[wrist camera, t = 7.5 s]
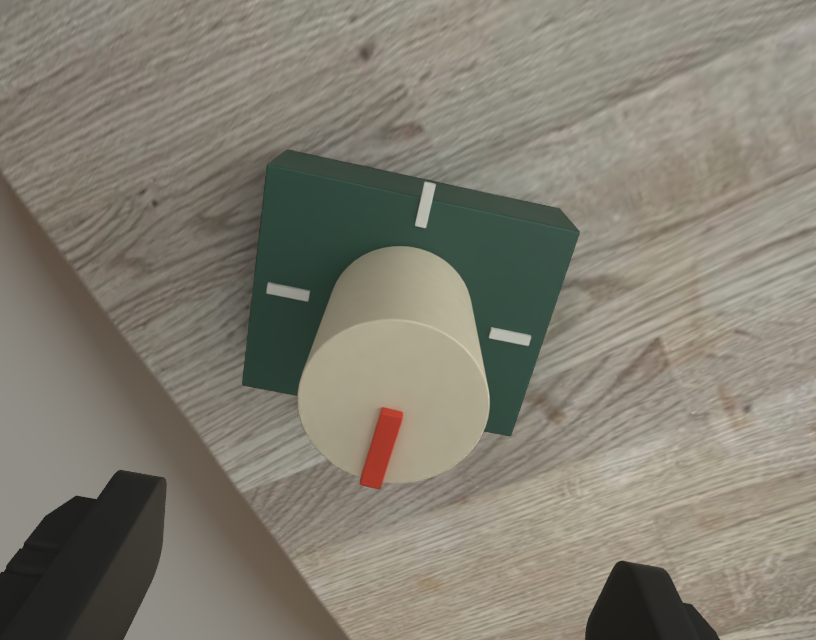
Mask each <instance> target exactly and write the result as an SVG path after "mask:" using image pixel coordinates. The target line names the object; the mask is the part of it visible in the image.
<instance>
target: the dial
mask: <svg viewBox="0 0 816 640" xmlns="http://www.w3.org/2000/svg"><path fill="white" fill-rule="evenodd" d="M489 408H490V397H489V390H488V384H487V379H486V374H485V369H484V364H483V359H482V354H481V349H480V344H479V339H478V334H477V329H476V324H475V319H474V314H473V309H472V303H471V298H470V295H469V292H468V289H467V287H466V285H465V283H464V281H463V280H462V278H461V277H460V275H459V274H458V273H457V272H456V270H455V269H454V268H453V267H452V266H451V265H449V264H448V263H447V262H446V261H445V260H443V259H441V258H440V257H438V256H437V255H435V254H433V253H430V252H428V251H425V250H422V249H419V248H414V247H407V246H392V247H385V248H380V249H377V250H374V251H371V252H369V253H367V254H365V255H363V256H361V257H360V258H358V259H357V260H355V261H354V262H353V263H352V264H350V265H349V266H348V267H347V268H346V269H345V270H344V272H343V273H342V274H341V276H340V277H339V279H338V280H337V282H336V284H335V286H334V288H333V291H332V293H331V296H330V299H329V302H328V304H327V307H326V310H325V313H324V315H323V318H322V321H321V323H320V326H319V329H318V332H317V334H316V337H315V340H314V343H313V345H312V348H311V351H310V354H309V356H308V359H307V362H306V364H305V367H304V370H303V373H302V376H301V379H300V382H299V388H298V410H299V416H300V419H301V422H302V425H303V428H304V430H305V432H306V434H307V436H308V438H309V439H310V441H311V442H312V444H313V445H314V446H315V447H316V449H317V450H318V451H319V452H320V453H321V454H322V455H323V456H324V457H325V458H326V459H327V460H328V461H330V462H331V463H333V464H334V465H335V466H337V467H338V468H340V469H342V470H344V471H345V472H347V473H349V474H352V475H354V476H357V477H359V478H360V485H363V486H367V487H371V488H376V489H380V488H381V485H382V483H391V484H398V483H411V482H417V481H421V480H425V479H429V478H432V477H434V476H437V475H439V474H441V473H443V472H445V471H447V470H449V469H451V468H452V467H454V466H455V465H456V464H458V463H459V462H460V461H461V460H463V459H464V458H465V457H466V456H467V455H468V454H469V453H470V452H471V450H472V449H473V448H474V447H475V445H476V444H477V442H478V441H479V439H480V438H481V436H482V433H483V431H484V429H485V426H486V423H487V420H488V415H489Z"/></svg>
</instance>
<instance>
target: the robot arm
mask: <svg viewBox="0 0 816 640" xmlns="http://www.w3.org/2000/svg"><path fill="white" fill-rule="evenodd" d="M165 501H166V479H165V478H163V477H158V476H152V475H146V474H141V473H135V472H130V471H123V470H119V471H117V472H116V473H115V474H114V475H113V477H112V478H111V479H110V481H109V482H108V484H107V485H106V487H105V488H104V490H103V491H102V493H101V494H100V495H99V497H98V498H97V499H92V498H86V497H81V496H75V497H73V498H72V499H71V500H69V501H67V502H66V503H64V504H63V505H62V506H60V507H58V508H57V509H55V510H54V511H52V512H51V513H49V514H48V515H46V516H45V517H44V518H43V520H42V521H41V522H40V524H39V525H38V526H37V527H36V529H35V530H34V531H33V533H32V534H31V535H30V536H29V538H28V539H27V540H26V541H25V543H24V546H23V548H22V549H19V551H18V552H17V553H16V554H15V555H14V557H13V558H12V559H11V561H10V562H9V563H8V564H7V566H6V569H5V571H4V572H1V573H0V640H123V639H124V637H125V635H126V633H127V631H128V629H129V627H130V625H131V623H132V621H133V619H134V617H135V615H136V613H137V611H138V608H139V607H140V605H141V603H142V601H143V599H144V597H145V594H146V592H147V590H148V588H149V586H150V584H151V582H152V580H153V577H154V575H155V572H156V569H157V566H158V563H159V559H160V555H161V550H162V543H163V530H164V515H165ZM585 640H720V639H719V637H718V635H717V633H716V632H715V631H714V630H713V628H712V627H711V626H710V625H709V624H708V623H707V621H706V620H705V619H704V618H703V617H702V616H701V615H700V613H699V612H698V611H697V610H696V609H695V608H694V607H693V605H692V604H687V603H683V602H682V600H681V598H680V596H679V594H678V592H677V590H676V588H675V586H674V584H673V582H672V579H671V577H670V576H669V574H668V573H667V571H666V570H664V569H663V568H660V567H654V566H649V565H643V564H637V563H632V562H626V561H619V562H618V563H616V564H615V566H614V567H613V569H612V571H611V573H610V575H609V577H608V579H607V581H606V583H605V585H604V587H603V590H602V592H601V594H600V596H599V598H598V600H597V602H596V604H595V606H594V608H593V610H592V612H591V614H590V616H589V619H588V622H587V626H586V634H585Z"/></svg>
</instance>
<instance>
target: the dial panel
mask: <svg viewBox="0 0 816 640" xmlns="http://www.w3.org/2000/svg"><path fill="white" fill-rule="evenodd" d="M579 234H580V231H579V230H578V229H577V228H576V227H575V226H574V224H573V223H572V222H571V221H570V220H569V219H568V217H567V216H566V215H565V214H564V213H563V212H562V211H561V209H558V208H554V207H549V206H545V205H540V204H535V203H531V202H526V201H522V200H517V199H512V198H508V197H503V196H499V195H494V194H489V193H485V192H480V191H476V190H471V189H466V188H462V187H457V186H453V185H448V184H444V183H439V182H434V181H430V180H425V179H421V178H416V177H411V176H407V175H402V174H398V173H393V172H388V171H384V170H379V169H375V168H370V167H365V166H361V165H356V164H352V163H347V162H342V161H338V160H333V159H329V158H324V157H319V156H315V155H310V154H306V153H301V152H296V151H292V150H286V151H285V152H283V153H282V154H281V155H279V156H278V157H277V158H275V159H274V160H273V161H271V162H270V163H269V164H268V165H267V169H266V178H265V186H264V195H263V204H262V213H261V222H260V230H259V239H258V248H257V257H256V266H255V274H254V283H253V292H252V301H251V310H250V318H249V327H248V336H247V345H246V353H245V362H244V371H243V380H242V385H243V386H248V387H254V388H259V389H264V390H269V391H275V392H280V393H285V394H290V395H296V396H298V388H299V382H300V379H301V376H302V373H303V370H304V367H305V364H306V362H307V359H308V356H309V354H310V351H311V348H312V345H313V343H314V340H315V337H316V334H317V332H318V329H319V326H320V323H321V321H322V318H323V315H324V313H325V310H326V307H327V304H328V302H329V299H330V296H331V293H332V291H333V288H334V286H335V284H336V282H337V280H338V279H339V277H340V276H341V274H342V273H343V272H344V270H345V269H346V268H347V267H348V266H349V265H350V264H352V263H353V262H354V261H355V260H357V259H358V258H360V257H361V256H363V255H365V254H367V253H369V252H371V251H374V250H377V249H380V248H385V247H392V246H407V247H414V248H419V249H422V250H425V251H428V252H430V253H433V254H435V255H437V256H438V257H440V258H441V259H443V260H445V261H446V262H447V263H448V264H449V265H451V266H452V267H453V268H454V269H455V270H456V272H457V273H458V274H459V275H460V277H461V278H462V280H463V281H464V283H465V285H466V287H467V289H468V292H469V295H470V298H471V303H472V309H473V314H474V319H475V324H476V329H477V334H478V339H479V344H480V349H481V354H482V359H483V364H484V369H485V374H486V379H487V384H488V390H489V397H490V408H489V415H488V420H487V423H486V426H485V429H484V431H485V432H490V433H495V434H501V435H506V436H511V435H512V432H513V429H514V426H515V423H516V420H517V417H518V414H519V411H520V408H521V405H522V402H523V399H524V396H525V393H526V390H527V387H528V384H529V381H530V378H531V375H532V373H533V370H534V367H535V364H536V361H537V358H538V355H539V352H540V349H541V346H542V343H543V340H544V337H545V334H546V331H547V328H548V325H549V322H550V319H551V316H552V313H553V310H554V308H555V305H556V302H557V299H558V296H559V293H560V290H561V287H562V284H563V281H564V278H565V275H566V272H567V269H568V266H569V263H570V260H571V257H572V254H573V251H574V248H575V245H576V243H577V240H578V237H579Z"/></svg>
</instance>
